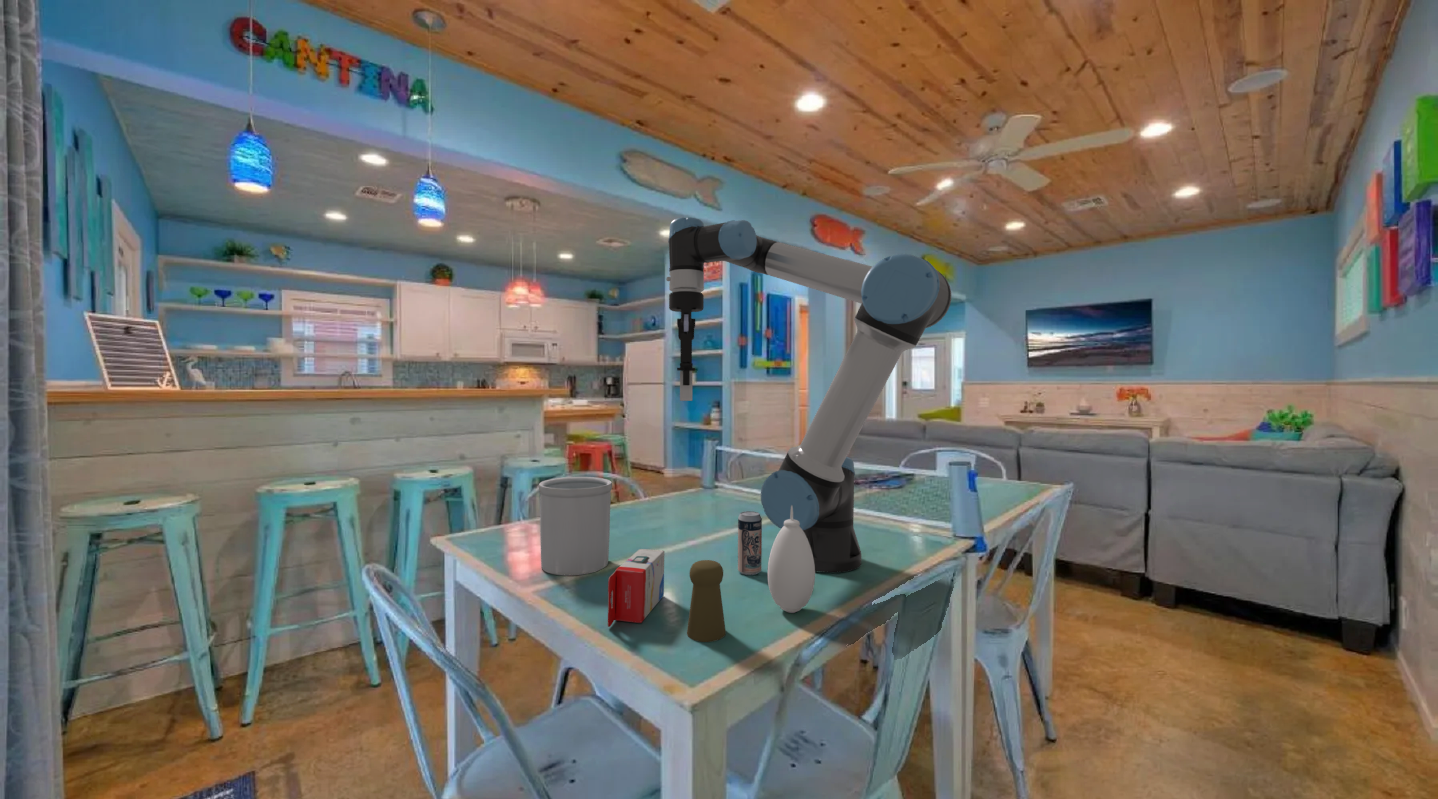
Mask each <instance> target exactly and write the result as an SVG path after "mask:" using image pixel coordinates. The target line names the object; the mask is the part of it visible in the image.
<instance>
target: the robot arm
mask: <svg viewBox="0 0 1438 799" xmlns="http://www.w3.org/2000/svg"><path fill="white" fill-rule="evenodd" d="M667 241H668V254H669V256H668V257H669V270H668V271H669V276H666V278H665V279H666V281H667V282H669V283H668V284H669V286H668V287H669V288H668V289H669V291H670V293H669V294H668V309H669V310H670V311H671V312H676V313H677V312H679V313H680V318H676V321H677V322H676V324H677V325H676V326H677V328H678V329H677V330H678V331H677V332H678V333H677V334H678V339H679V340H680V352H679V353H680V362H679V367H676V371H678V372H679V401H681V402H683V401H684V402H687V401H691V402H692V401H693V372H694V371H696V367H694V366H693V361H692V360H693V356H692V355H693V340H694V339H695V328H696V318H692V313H699V312H702V311H703V310H704V307H705V306H704V300H705V299H704V298H705V297H704V294H703V293H702V292H703V291H704V290H705V272H704V271H705V270H704V269H705V267H704V266H705V264H708V263H715V262H727V263H729V264H733V265H735V266H737V267H741V268H744V269H747V270H749V271H751V272H753V273H757V274H764V275H766V276H770V277H773V278H776V279H780V280H783V281H785V282H790V283H793V284H797V285H800V286H802V287H803V286H804V287H806V288H809V289H812V290H816V291H820V292H823V293H824V294H825V293H826V294H829V295H832V296H834V297H835V296H836V297H839V298H842V299H845V300H848V301H852V302H855V303H859V304H860V305H859V308H858V310H857V312H856V314H855V317H854V318H853V320H854V323H855V326H856V330H857V331H856V334H855V335H854V337H853V340H852V342H851V344H850V345H849V347H848V349H847V351H846V353H845V355H844V357H843V359H842V361H841V363H840V366H839V367H838V370H837V371H836V374H835V376H834V377H833V379H832V381H831V383H830V385H829V387H828V390H827V391H826V393H825V395H824V398H823V399H822V401H821V403H820V405H819V408H818V409H817V410H816V413H815V415H814V417H813V419H812V421H811V422H810V425H809V426H808V429H807V431H806V433H805V434H804V437H803V439H802V441H801V443H800V444H799V445H796V446H793V447H790V448H789V449H788V451H787V453H786V455H785V457H784V459H783V460H782V463H781V465H780V466H779V469H778V470H775V471H773V472H772V473H771V474H770V475H768V477H767V478H766V479H764V482H763V483H762V486H761V489H760V502H761V505H762V508H763V512H764V514H765V516H766V517H767V518H768V519H769V520H770V522H771V523H772V524H774V526H776V527H777V528H778V529H781V528H782V527H783V526H784V521H785V520H788V519H790V513H791V505H792V506H793V519H794V520H798V521H799V523H800V525H799V526H800V527H801V529H802V530H803V531H804V533H805V535H806V537H807V539H808V541H809V544H810V547H811V550H812V554H813V559H814V565H815V572H819V573H831V574H833V573H835V574H836V573H837V574H838V573H846V572H852V571H854V569H855V570H857V569H859V568H860V567H861V566H862V559H863V558H862V550H861V548H860V545H859V544H860V543H859V541H858V538H857V534H856V531H855V529H854V516H855V515H854V511H855V510H854V508H855V507H854V506H855V505H854V504H855V502H854V501H855V475H856V472H855V464H854V460H853V459H852V458H851V457H848V455H849V453H850V451H851V449H852V447H853V446H854V444H855V442H856V440H857V437H859V434H860V432H861V430H862V429H863V427H864V425H865V424H866V421H867V419H868V417H869V416H870V414H871V412H872V410H873V409H874V406H875V404H876V402H877V401H878V398H879V397H880V395H881V393H882V391H883V389H884V388H885V385H886V384H887V382H888V380H889V377H890V376H891V374H892V372H893V371H894V368H896V366H897V363H898V361H899V359H900V357H901V356H902V354H903V353H904V352H905V351H908V350H911V349H913V348H916V346H917V345H918V343H919V341H920V339H921V337H922V335H923V334H924V332H925V330H926V329H928V328H931V327H933V326H935V325H936V324H938V323H939V322H941V320H942V319H944V317H945V316H946V314H947V313H948V311H949V309H950V306H951V302H952V289H951V286H950V283H949V282H948V280H947V278H946V277H945V276H944V274H942V273H941V272H940V271H939V270H937V269H936V268H935V267H934V266H933V265H932V264H931V263H930V261H928V260H925V259H923V258H922V257H919V256H916V255H912V254H908V253H897V254H896V253H895V254H892V255H889V256H887V257H886V256H885V257H884V258H882V259H880V260H879V261H877V262H876V263H875V264H874V265H868V264H864V263H860V262H856V261H852V260H848V259H844V258H840V257H837V256H833V255H830V254H825V253H821V252H818V251H814V250H810V249H806V248H803V247H798V246H796V245H795V246H794V245H791V244H787V243H783V242H780V241H776V240H773V239H769V238H765V237H761V236H759V235H757V232H756V231H755V228H754V227H753V226H752V223H751V222H749V221H748V220H745V219H741V220H734V219H733V220H728V221H725V222H720V223H716V224H711V225H704V222H703V221H702V220H701V219H699V218H696V217H689V216H688V217H678V218H675V219H673V220H672V221H671V223H670V224H669V234H668V240H667Z"/></svg>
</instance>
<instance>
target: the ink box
mask: <svg viewBox="0 0 1438 799" xmlns="http://www.w3.org/2000/svg"><path fill="white" fill-rule="evenodd" d="M607 581H608V582H607V628H608V627H609V628H610V627H611V626H612V624H613V623H614V622H615V621H617V622H627V623H637V624H642V623H643V622H644V620H645V619H646V618H647V616H649V614H650V613H651V611H653V609H654V608H655V607H656V606H657V604H658V603H659V602H660V601H661V599H662V598H663V597H664V595H665V550H661V549H645V548H639V549H637V551H636V552H634V553H633V554H632V555H631V556H629V558H628V559H626V560H625V561H624V562H623V563H622V564H621V565H620V566H618V567H617V568H615V571H614V572H613V573H611V575H610V576H609V577H608V579H607Z"/></svg>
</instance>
